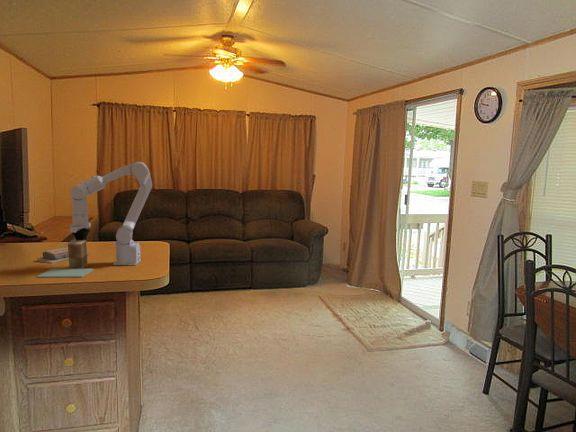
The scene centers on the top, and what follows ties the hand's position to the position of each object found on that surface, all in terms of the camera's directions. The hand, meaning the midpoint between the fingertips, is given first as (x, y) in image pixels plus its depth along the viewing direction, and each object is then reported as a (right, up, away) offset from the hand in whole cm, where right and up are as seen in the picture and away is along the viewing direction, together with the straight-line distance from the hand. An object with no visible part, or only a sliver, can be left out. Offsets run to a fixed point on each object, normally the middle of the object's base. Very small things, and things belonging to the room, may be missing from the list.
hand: (81, 247), depth 167 cm
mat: (0, -9, -11) cm, 14 cm away
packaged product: (-15, -7, +14) cm, 22 cm away
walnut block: (0, -8, -3) cm, 9 cm away
